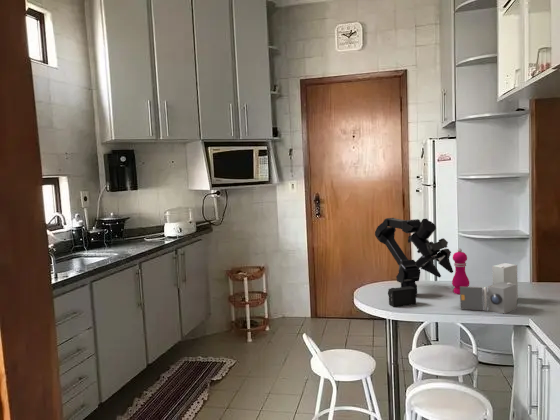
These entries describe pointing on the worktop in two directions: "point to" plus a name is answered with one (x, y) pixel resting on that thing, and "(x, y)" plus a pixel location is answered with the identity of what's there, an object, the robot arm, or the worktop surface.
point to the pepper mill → (460, 271)
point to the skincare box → (505, 274)
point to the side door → (473, 298)
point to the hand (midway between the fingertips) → (446, 274)
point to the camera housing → (502, 297)
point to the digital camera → (402, 296)
